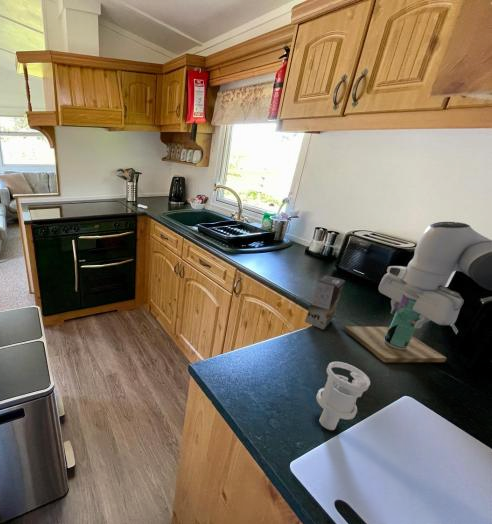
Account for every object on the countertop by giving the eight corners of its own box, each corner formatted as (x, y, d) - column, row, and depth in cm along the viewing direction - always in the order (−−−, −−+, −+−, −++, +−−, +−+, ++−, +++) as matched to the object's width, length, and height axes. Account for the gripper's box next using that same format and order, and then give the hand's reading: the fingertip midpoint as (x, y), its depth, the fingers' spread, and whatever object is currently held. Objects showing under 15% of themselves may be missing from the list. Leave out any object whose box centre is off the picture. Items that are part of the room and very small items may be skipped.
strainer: (323, 439, 59) (347, 383, 53) (302, 410, 65) (322, 357, 60) (354, 438, 60) (382, 382, 54) (330, 409, 66) (352, 356, 61)
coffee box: (324, 330, 97) (339, 287, 91) (303, 322, 101) (317, 280, 95) (331, 321, 103) (346, 280, 97) (312, 313, 107) (325, 274, 101)
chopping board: (396, 330, 100) (397, 326, 100) (444, 362, 86) (447, 358, 85) (343, 329, 98) (345, 326, 98) (384, 362, 83) (386, 358, 83)
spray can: (406, 344, 89) (433, 286, 82) (406, 352, 85) (435, 292, 78) (384, 336, 93) (408, 280, 85) (383, 344, 89) (408, 285, 81)
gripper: (477, 296, 72) (451, 342, 77) (401, 265, 91) (384, 303, 96) (455, 296, 71) (430, 342, 76) (383, 264, 90) (367, 303, 95)
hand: (404, 320), depth 86 cm, fingers closed on spray can, 5 cm apart
